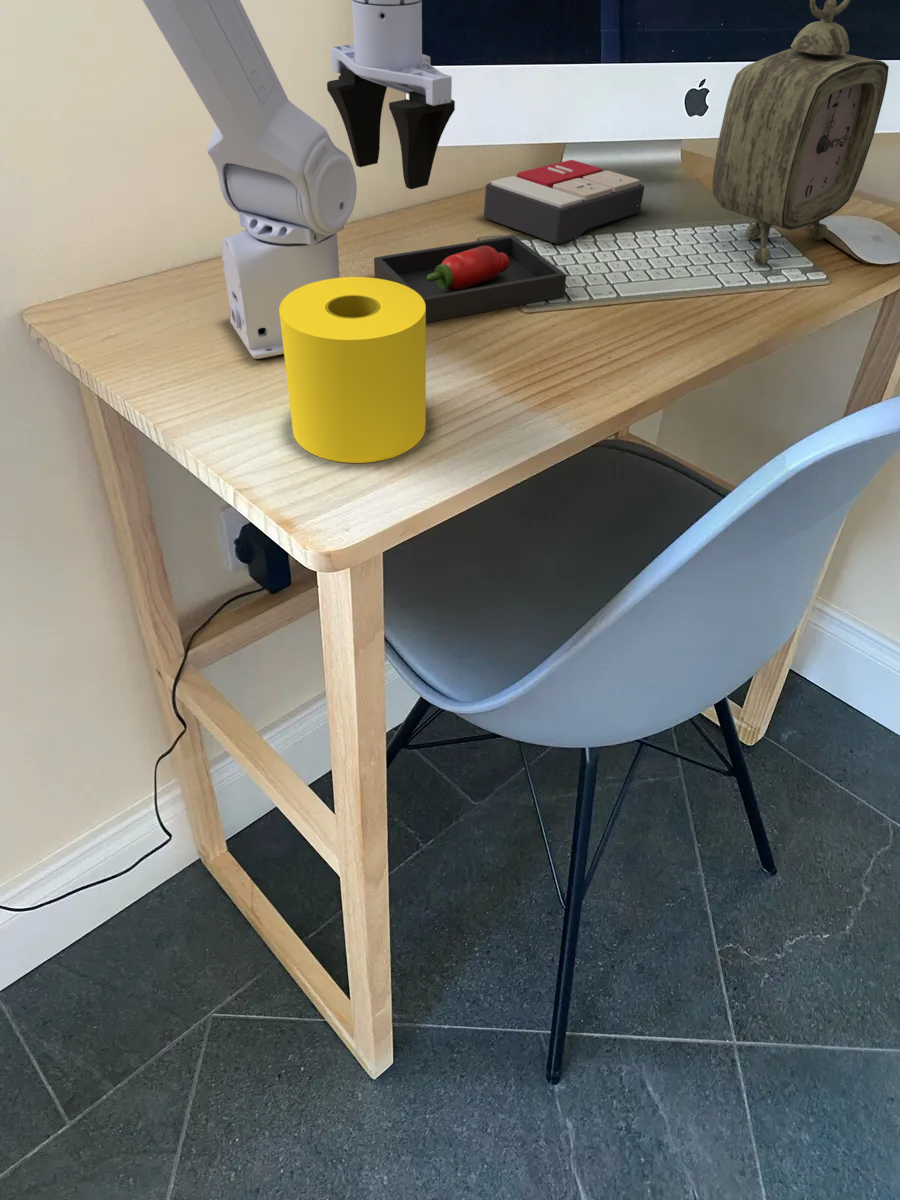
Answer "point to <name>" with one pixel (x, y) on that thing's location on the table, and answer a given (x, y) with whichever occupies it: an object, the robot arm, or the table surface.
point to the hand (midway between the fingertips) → (391, 175)
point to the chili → (469, 268)
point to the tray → (509, 288)
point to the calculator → (562, 200)
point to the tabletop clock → (798, 131)
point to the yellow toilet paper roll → (355, 367)
